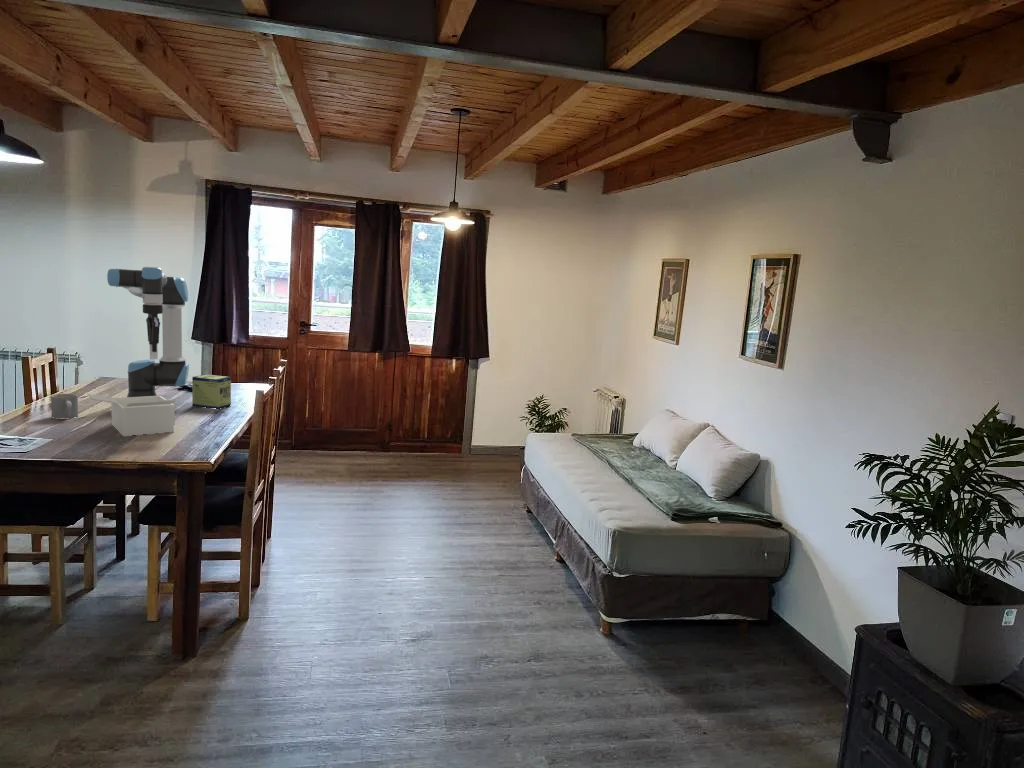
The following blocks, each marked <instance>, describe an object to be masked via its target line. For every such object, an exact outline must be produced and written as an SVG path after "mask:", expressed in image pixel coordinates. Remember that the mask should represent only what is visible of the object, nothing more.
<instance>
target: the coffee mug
mask: <svg viewBox="0 0 1024 768" xmlns="http://www.w3.org/2000/svg"><path fill="white" fill-rule="evenodd" d="M78 399H79V398H78V394H77V393H76V394H75V393H56V394H52V395H50V404H51V409H50V410H51V418H52V417H54V418H74V417H77V418H78V417H79V404H78V403H79V401H78ZM74 419H75V418H74Z"/></svg>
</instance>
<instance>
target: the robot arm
mask: <svg viewBox="0 0 1024 768" xmlns="http://www.w3.org/2000/svg"><path fill="white" fill-rule="evenodd" d="M106 277H107V279H106V280H107V285H109V286H111V287H116V288H118V287H120V288H123V289H126V290H128V292H129V293H130V294H131V295H134V296H136V297H138V298H141V299H142V303H143V304H142V313H143V314H147V317H146V319H145V322H146V329H147V331H146V332H147V342H148V344H149V359H142V360H134V361H132V362H129V363H128V367H127V368H128V369H127V377H128V379H127V381H128V385H127V386H128V391H127V392H128V393H127V396H126V397H144V396H158V395H157V393H156V387H174V388H176V387H185V385H186V384H187V381H188V378H189V370H190V364H189V363H187V362H186V359H185V358H184V356H183V346H182V345H183V342H182V341H183V338H182V337H183V335H182V334H183V333H182V332H183V331H182V330H183V326H182V325H183V324H182V323H183V321H182V317H183V316H182V309H183V308H184V307H185V305H186V303H187V302H188V301H189V290H188V286H187V282H186V279H184V278H183V277H178V276H177V277H176V276H167V275H166V274H165V273H164V272H163V270H162V268H161V267H157V266H156V267H155V266H154V267H153V266H143V267H142V268H141V270H140V269H126V268H125V269H123V268H109V269H108V271H107V275H106ZM158 315H161V316H162V317H161V320H162V321H161V322H162V323H161V322H160V318H159V317H158ZM161 324H162V329H161V330H162V331H161V333H162V334H161V335H162V356H161V358H160V359H159V360H158V358H159V357H158V356H159V354H158V351H159V349H158V344H159V343H160V326H161ZM156 360H158V361H159V362H156Z"/></svg>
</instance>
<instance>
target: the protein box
mask: <svg viewBox="0 0 1024 768" xmlns="http://www.w3.org/2000/svg"><path fill="white" fill-rule="evenodd" d="M191 380H192V383H191V385H192V391H191V392H192V394H191V395H192V396H191V397H192V402H191V403H192V406H191V407H193V406H196V407H195V408H201V407H206V408H205V409H209V408H216V409H215V410H217V409H219V410H221V409H220V408H222V409H225V408H224V407H226V408H228V407H227V406H230V405H231V406H232V400H231V399H232V377H231V376H224V375H223V376H222V375H214V374H202V375H196V376H192V379H191ZM231 406H230V407H231Z"/></svg>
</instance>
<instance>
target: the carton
mask: <svg viewBox="0 0 1024 768" xmlns="http://www.w3.org/2000/svg"><path fill="white" fill-rule="evenodd" d="M112 398H113V399H114V400H115V401H117V402H118V403H111V426H112V425H113V426H114V427H115V428H116V429H117V430H118V431H119V432H120V433H121V434H122V435H123V436H124V437H132V435H136V436H144V435H143V434H147V435H156V434H155V433H159V434H165V433H164V432H170V433H174V432H175V423H176V419H175V417H176V416H175V411H176V409H175V404H174V402H173V403H172V404H159V405H142V406H126V405H127V404H129V403H130V402H142V401H159V400H168V399H166V398H165V397H164V396H161V395H157V396H144V397H127V396H126V397H112ZM113 426H112V427H113ZM114 427H113V428H114ZM115 428H114V429H115ZM116 429H115V430H116ZM117 430H116V431H117ZM118 431H117V432H118ZM119 432H118V433H119ZM120 433H119V434H120ZM121 434H120V435H121ZM122 435H121V436H122ZM123 436H122V437H123Z"/></svg>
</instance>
